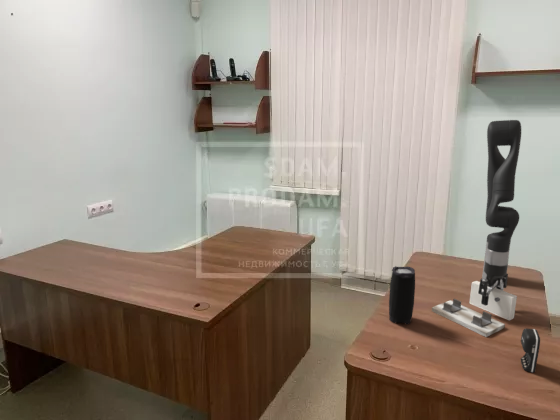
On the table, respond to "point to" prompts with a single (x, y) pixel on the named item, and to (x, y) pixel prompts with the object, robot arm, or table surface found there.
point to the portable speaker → (402, 294)
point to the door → (494, 301)
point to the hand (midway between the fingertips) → (491, 301)
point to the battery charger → (530, 349)
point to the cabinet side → (468, 317)
